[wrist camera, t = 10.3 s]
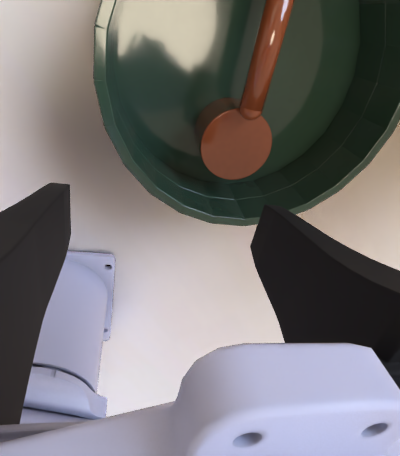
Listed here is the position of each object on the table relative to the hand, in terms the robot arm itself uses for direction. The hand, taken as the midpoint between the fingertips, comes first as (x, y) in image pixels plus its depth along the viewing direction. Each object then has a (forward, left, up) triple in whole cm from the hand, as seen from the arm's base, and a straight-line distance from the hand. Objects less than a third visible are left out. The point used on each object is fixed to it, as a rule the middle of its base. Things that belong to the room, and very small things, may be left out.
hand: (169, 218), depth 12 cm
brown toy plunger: (+5, -4, -9) cm, 11 cm away
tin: (+4, -4, -9) cm, 11 cm away
